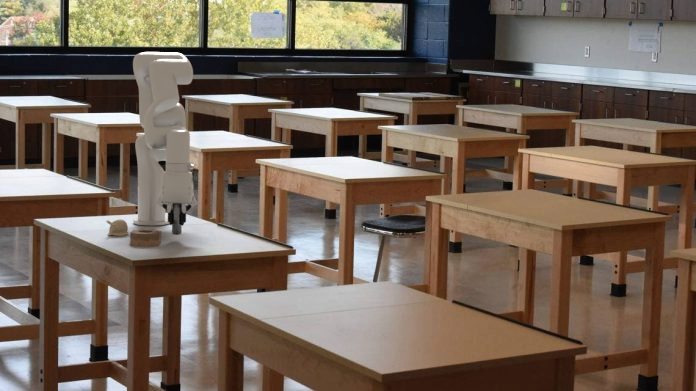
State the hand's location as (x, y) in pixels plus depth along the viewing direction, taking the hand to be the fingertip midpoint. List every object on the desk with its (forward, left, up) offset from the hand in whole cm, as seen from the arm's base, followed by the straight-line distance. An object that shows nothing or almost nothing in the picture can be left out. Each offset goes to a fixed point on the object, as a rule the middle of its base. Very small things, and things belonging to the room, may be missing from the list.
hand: (176, 224), depth 376 cm
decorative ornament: (-8, -21, -6) cm, 23 cm away
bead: (+8, -9, -5) cm, 13 cm away
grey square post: (0, 0, -3) cm, 3 cm away
